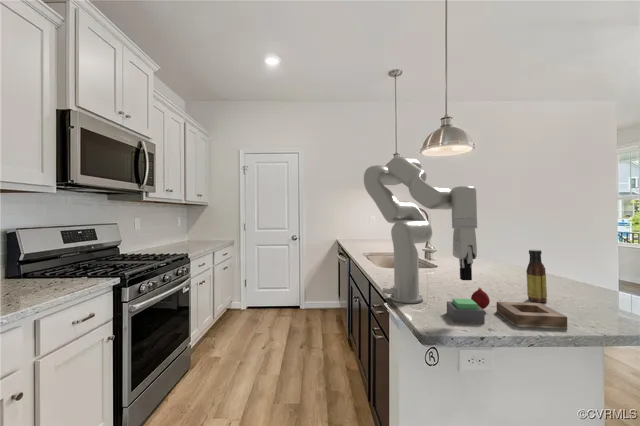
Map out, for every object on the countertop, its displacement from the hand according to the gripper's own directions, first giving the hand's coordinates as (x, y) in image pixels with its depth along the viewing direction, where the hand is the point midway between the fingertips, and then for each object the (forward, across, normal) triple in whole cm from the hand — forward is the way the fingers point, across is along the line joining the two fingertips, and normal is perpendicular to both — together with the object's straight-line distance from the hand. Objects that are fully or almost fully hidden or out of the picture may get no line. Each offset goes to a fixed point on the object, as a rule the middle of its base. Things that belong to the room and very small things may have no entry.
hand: (465, 279), depth 100 cm
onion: (+13, -10, +8) cm, 18 cm away
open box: (+13, -2, +20) cm, 23 cm away
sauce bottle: (+13, -25, +34) cm, 44 cm away
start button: (+10, -1, 0) cm, 10 cm away
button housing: (+13, -1, 0) cm, 13 cm away
